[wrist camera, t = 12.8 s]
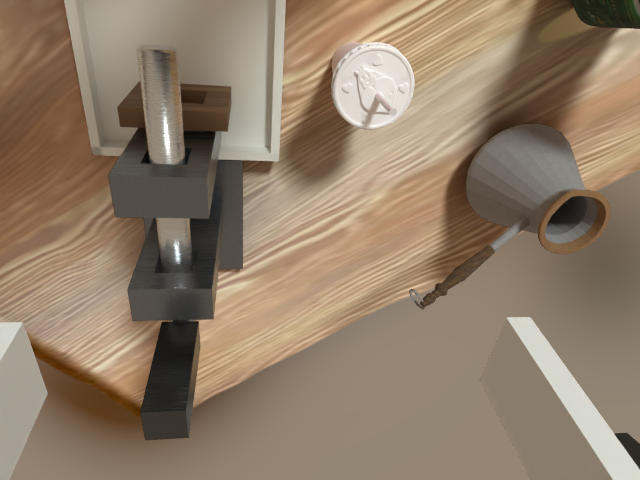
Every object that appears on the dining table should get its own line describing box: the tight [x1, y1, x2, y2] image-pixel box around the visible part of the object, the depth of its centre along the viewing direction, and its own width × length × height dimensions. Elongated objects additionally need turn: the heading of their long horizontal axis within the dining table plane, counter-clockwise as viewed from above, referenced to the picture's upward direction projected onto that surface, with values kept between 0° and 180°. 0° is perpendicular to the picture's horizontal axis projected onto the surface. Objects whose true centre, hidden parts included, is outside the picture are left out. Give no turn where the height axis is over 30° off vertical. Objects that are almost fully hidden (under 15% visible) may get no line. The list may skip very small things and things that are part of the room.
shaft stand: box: [108, 128, 243, 321], centre depth 41 cm, size 18×10×17 cm, turn 175°
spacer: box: [117, 81, 231, 132], centre depth 38 cm, size 2×8×8 cm, turn 85°
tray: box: [64, 0, 286, 161], centre depth 39 cm, size 22×17×2 cm
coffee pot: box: [409, 123, 611, 309], centre depth 45 cm, size 21×12×15 cm, turn 114°
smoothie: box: [331, 42, 414, 130], centre depth 37 cm, size 6×6×14 cm
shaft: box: [137, 45, 200, 440], centre depth 31 cm, size 25×3×11 cm, turn 175°
